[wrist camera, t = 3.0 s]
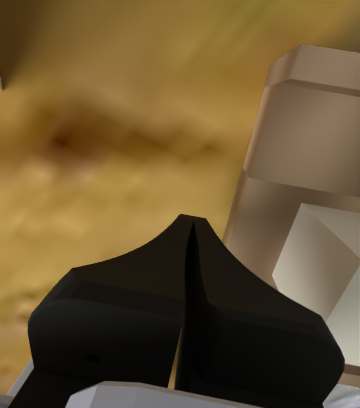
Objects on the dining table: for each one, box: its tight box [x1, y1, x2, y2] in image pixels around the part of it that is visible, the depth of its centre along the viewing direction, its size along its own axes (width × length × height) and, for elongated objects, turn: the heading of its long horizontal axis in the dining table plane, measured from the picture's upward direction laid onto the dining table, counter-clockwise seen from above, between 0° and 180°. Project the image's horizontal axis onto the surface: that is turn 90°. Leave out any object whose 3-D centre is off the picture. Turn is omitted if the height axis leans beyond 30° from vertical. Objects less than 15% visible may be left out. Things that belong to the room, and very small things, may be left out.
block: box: [272, 203, 360, 366], centre depth 10 cm, size 4×4×4 cm
